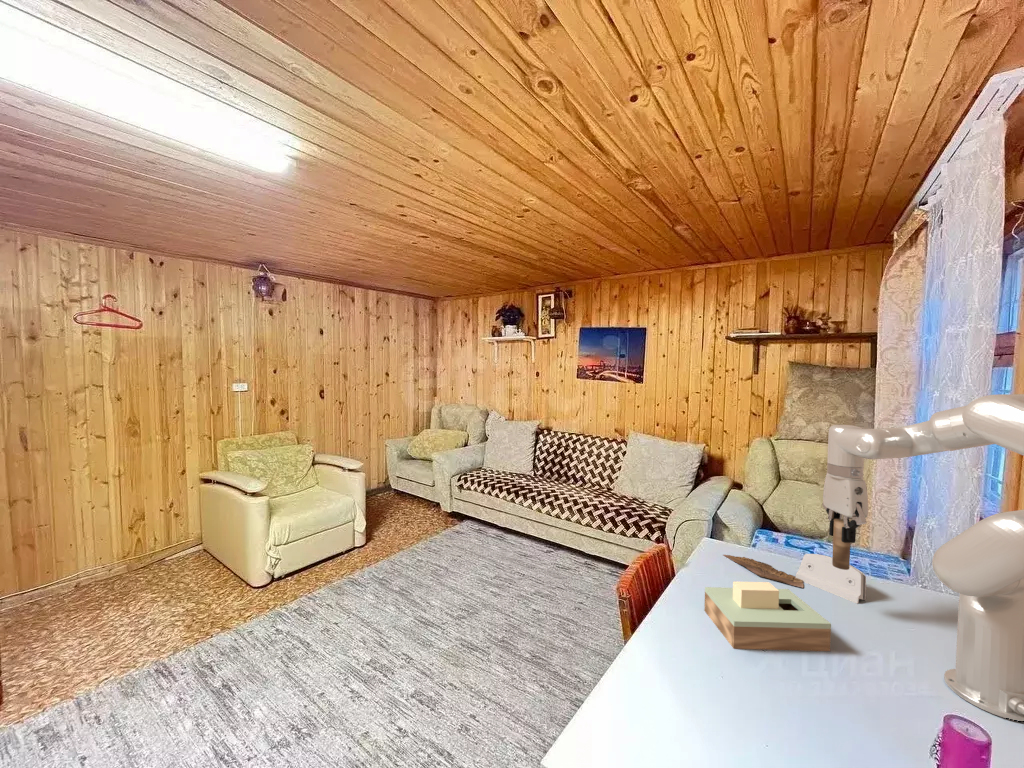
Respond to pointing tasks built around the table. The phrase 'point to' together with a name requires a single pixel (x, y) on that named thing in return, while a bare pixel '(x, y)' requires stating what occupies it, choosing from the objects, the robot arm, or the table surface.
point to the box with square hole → (768, 633)
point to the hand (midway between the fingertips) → (841, 538)
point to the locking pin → (840, 547)
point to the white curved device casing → (832, 577)
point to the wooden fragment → (766, 571)
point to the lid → (764, 606)
